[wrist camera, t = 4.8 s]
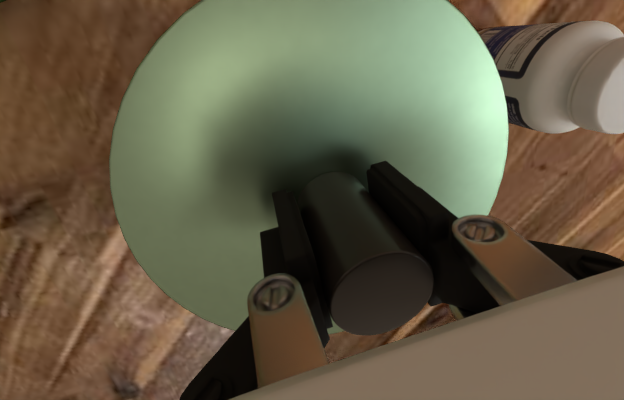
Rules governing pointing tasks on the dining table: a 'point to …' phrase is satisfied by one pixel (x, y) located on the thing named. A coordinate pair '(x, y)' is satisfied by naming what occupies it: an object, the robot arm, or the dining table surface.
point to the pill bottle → (561, 75)
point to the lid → (303, 147)
